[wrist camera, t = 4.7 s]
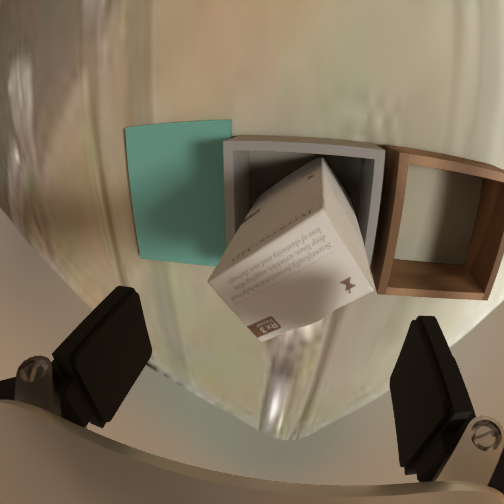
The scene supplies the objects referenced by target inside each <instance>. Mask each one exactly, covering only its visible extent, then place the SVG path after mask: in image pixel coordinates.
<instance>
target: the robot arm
mask: <svg viewBox="0 0 504 504" xmlns="http://www.w3.org/2000/svg"><path fill="white" fill-rule="evenodd" d="M151 354H152V347H151V343H150V339H149V335H148V331H147V327H146V323H145V319H144V315H143V310H142V306H141V301H140V297H139V294H138V293H137V292H136V291H135V289H134V288H131V287H125V286H118V287H116V288H115V289H114V290H113V291H112V292H111V293H110V294H109V295H108V296H107V297H106V298H105V299H104V300H103V301H102V302H101V303H100V304H99V305H98V306H97V307H96V308H95V309H94V310H93V311H92V312H91V313H90V314H89V315H88V316H87V317H86V318H85V319H84V320H83V321H82V322H81V323H80V324H79V325H78V327H77V328H76V329H75V330H74V331H73V332H72V333H71V334H70V335H69V336H68V337H67V338H66V339H65V340H64V341H63V343H61V345H60V346H59V347H58V348H57V349H56V350H55V351H54V352H53V353H52V356H53V358H54V360H53V361H52V362H51V361H50V360H49V359H48V358H47V357H45V356H34V357H30V358H28V359H27V360H25V361H24V362H23V363H22V364H21V365H20V366H19V368H18V370H17V373H16V377H13V378H10V379H6V380H2V381H0V504H504V428H503V426H502V425H501V424H500V422H499V421H497V420H496V419H494V418H492V417H490V416H478V417H476V416H475V413H474V409H473V406H472V403H471V400H470V398H469V395H468V392H467V389H466V387H465V384H464V381H463V378H462V376H461V373H460V371H459V368H458V365H457V363H456V361H455V359H454V357H453V356H452V354H451V351H450V349H449V346H448V344H447V342H446V339H445V337H444V335H443V333H442V330H441V328H440V326H439V324H438V322H437V319H436V318H435V317H434V316H418V317H417V319H416V320H412V322H411V324H410V327H409V330H408V333H407V336H406V339H405V341H404V344H403V347H402V349H401V352H400V355H399V357H398V360H397V362H396V365H395V367H394V370H393V372H392V375H391V378H390V391H391V397H392V403H393V410H394V418H395V425H396V434H397V442H398V451H399V462H400V466H401V467H404V469H405V475H410V474H417V480H419V481H418V483H405V484H391V485H363V486H362V485H358V486H340V485H339V486H338V485H336V486H335V485H312V484H299V483H288V482H279V481H271V480H262V479H256V478H250V477H243V476H238V475H232V474H227V473H222V472H217V471H213V470H208V469H203V468H200V467H196V466H191V465H188V464H184V463H180V462H177V461H173V460H170V459H166V458H163V457H160V456H157V455H153V454H150V453H147V452H144V451H141V450H138V449H135V448H133V447H130V446H127V445H125V444H122V443H119V442H117V441H114V440H112V439H109V438H106V437H104V436H102V435H100V434H97V433H95V432H93V431H90V430H88V429H87V424H88V423H89V421H90V423H91V424H94V425H96V426H98V427H101V428H103V427H104V425H105V424H106V422H109V421H111V420H112V418H113V416H114V415H115V413H116V412H117V410H118V408H119V407H120V405H121V403H122V402H123V400H124V398H125V397H126V395H127V394H128V392H129V391H130V389H131V387H132V386H133V384H134V383H135V381H136V379H137V378H138V376H139V375H140V373H141V371H142V370H143V368H144V367H145V365H146V364H147V362H148V360H149V359H150V357H151Z"/></svg>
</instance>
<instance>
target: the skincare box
mask: <svg viewBox="0 0 504 504" xmlns="http://www.w3.org/2000/svg"><path fill="white" fill-rule="evenodd" d="M208 283H209V284H210V285H211V287H212V288H213V289H214V290H215V291H216V292H217V294H218V295H219V296H220V297H221V298H222V299H223V301H224V302H225V303H226V304H227V305H228V306H229V307H230V308H231V310H232V311H233V312H234V313H235V314H236V315H237V316H238V317H239V318H240V319H241V321H242V322H243V323H244V324H245V325H246V326H247V327H248V328H249V329H250V330H251V331H252V333H253V334H254V335H255V336H256V337H257V338H258V339H259V341H261V342H263V341H266V340H268V339H271V338H273V337H275V336H278V335H280V334H282V333H285V332H287V331H289V330H291V329H294V328H299V327H303V326H306V325H309V324H312V323H314V322H316V321H319V320H321V319H323V318H324V317H326V316H327V315H329V314H330V313H331V312H332V311H334V310H336V309H338V308H340V307H342V306H344V305H346V304H348V303H350V302H352V301H354V300H356V299H358V298H360V297H362V296H364V295H366V294H368V293H370V292H372V291H373V290H374V284H373V280H372V277H371V274H370V270H369V264H368V259H367V255H366V251H365V247H364V243H363V239H362V235H361V232H360V228H359V225H358V221H357V218H356V215H355V211H354V208H353V205H352V201H351V198H350V197H349V195H348V194H347V192H346V191H345V189H344V187H343V186H342V184H341V183H340V181H339V180H338V178H337V177H336V175H335V174H334V172H333V171H332V169H331V168H330V166H329V165H328V163H327V162H326V160H325V159H324V158H323V157H319V158H316V159H314V160H313V161H311V162H309V163H307V164H306V165H304V166H302V167H301V168H299V169H297V170H296V171H294V172H292V173H291V174H289V175H288V176H286V177H285V178H283V179H282V180H281V181H279V182H278V183H276V184H275V185H273V186H272V187H271V188H269V189H268V190H266V191H265V192H264V193H263V194H261V195H260V196H259V197H258V198H257V200H256V202H255V203H254V205H253V206H252V208H251V210H250V211H249V213H248V214H247V216H246V218H245V219H244V221H243V222H242V224H241V225H240V227H239V229H238V231H237V232H236V234H235V236H234V237H233V239H232V241H231V242H230V244H229V246H228V247H227V249H226V251H225V252H224V254H223V256H222V258H221V259H220V261H219V263H218V265H217V266H216V268H215V270H214V271H213V273H212V274H211V276H210V278H209V279H208Z"/></svg>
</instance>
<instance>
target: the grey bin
mask: <svg viewBox="0 0 504 504" xmlns="http://www.w3.org/2000/svg"><path fill="white" fill-rule="evenodd" d="M249 151H275V152H297V153H313V154H327V155H339V156H349V157H359V158H363V171H362V182H361V193H360V202H359V211H358V220H357V221H358V225H359V228H360V232H361V235H362V239H363V243H364V247H365V251H366V255H367V259H368V264H369V270H370V265H371V259H372V254H373V248H374V242H375V236H376V229H377V222H378V215H379V208H380V200H381V192H382V183H383V173H384V162H385V150H384V149H382V148H380V147H379V146H377V145H375V144H373V143H368V142H359V141H349V140H338V139H326V138H311V137H293V136H263V135H240V136H237V137H234V138H231V139H227V140H224V141H223V156H224V191H225V220H226V245H227V247H228V246H229V244H230V242H231V241H232V239H233V237H234V236H235V234H236V232H237V231H238V229H239V227H240V225H241V224H242V222H243V221H244V219H245V218H246V216H247V214H248V213H249Z"/></svg>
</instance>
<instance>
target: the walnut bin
mask: <svg viewBox="0 0 504 504" xmlns="http://www.w3.org/2000/svg"><path fill="white" fill-rule="evenodd" d="M384 150H385V162H384V173H383V183H382V192H381V200H380V208H379V215H378V222H377V229H376V236H375V242H374V248H373V254H372V259H371V265H370V268H371V272H372V275H373V279H374V283H375V287H376V291H377V294H385V295H399V296H414V297H431V298H449V299H469V300H488V298H489V295H490V292H491V290H492V287H493V284H494V281H495V278H496V276H497V273H498V270H499V267H500V263H501V260H502V257H503V254H504V170H502V169H500V168H498V167H495V166H493V165H490V164H486V163H482V162H478V161H473V160H469V159H465V158H460V157H455V156H450V155H445V154H440V153H435V152H429V151H423V150H418V149H411V148H405V147H398V146H391V145H384ZM408 164H414V165H420V166H426V167H432V168H438V169H444V170H449V171H454V172H460V173H465V174H469V175H474V176H479V177H483V178H484V180H483V186H482V192H481V198H480V203H479V208H478V213H477V218H476V222H475V227H474V231H473V235H472V239H471V243H470V247H469V251H468V254H467V258H466V261H465V265H464V266H462V265H452V264H441V263H430V262H419V261H407V260H396V259H394V254H395V249H396V244H397V238H398V233H399V227H400V221H401V215H402V209H403V202H404V195H405V187H406V179H407V170H408Z"/></svg>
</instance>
